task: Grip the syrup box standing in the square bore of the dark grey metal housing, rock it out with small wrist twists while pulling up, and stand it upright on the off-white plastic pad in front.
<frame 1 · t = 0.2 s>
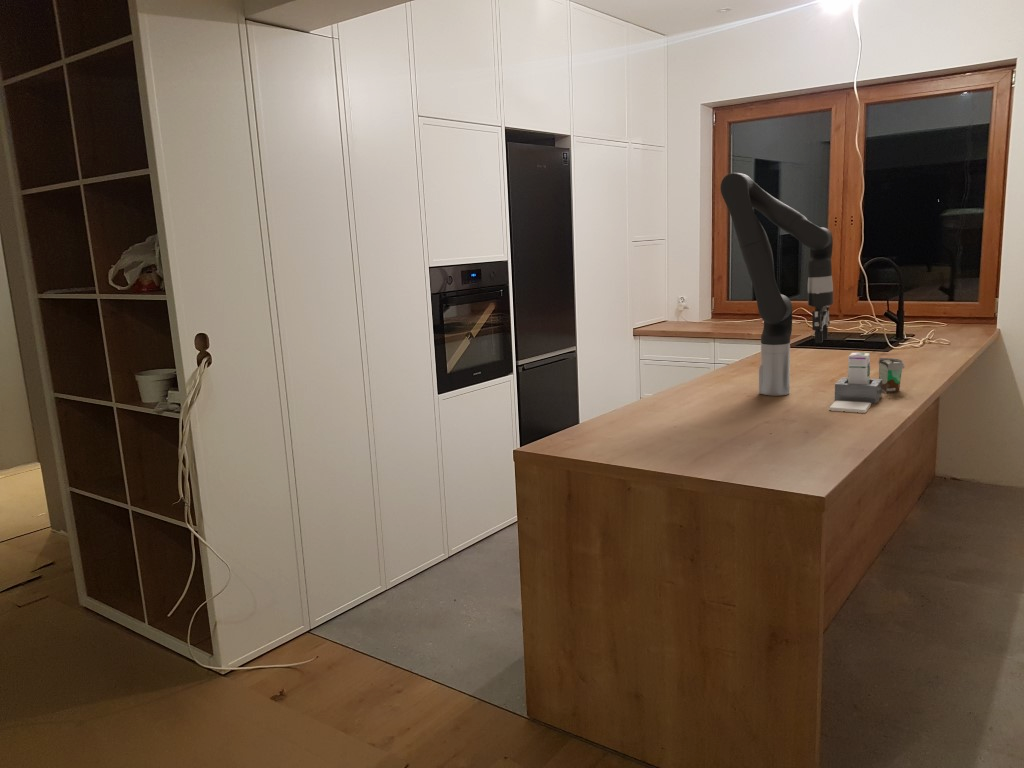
hand: (821, 340, 247), 18 cm above the countertop, tool pointing down, fingers open, 8 cm apart
pad: (850, 408, 232), on the countertop
syrup box: (858, 399, 244), resting in housing
food container: (892, 390, 253), on the countertop
housing: (858, 398, 244), on the countertop
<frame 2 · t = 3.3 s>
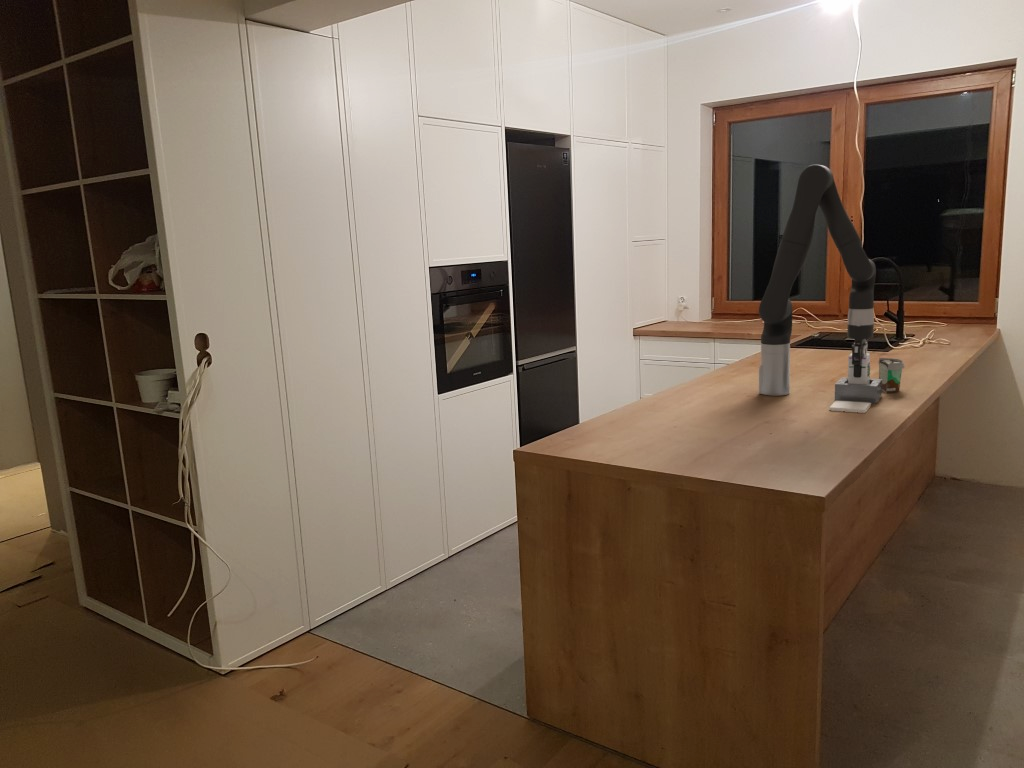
hand: (859, 375, 242), 8 cm above the countertop, tool pointing down, fingers closed on syrup box, 5 cm apart
syrup box: (858, 399, 244), resting in housing, touching gripper
everything else where it was.
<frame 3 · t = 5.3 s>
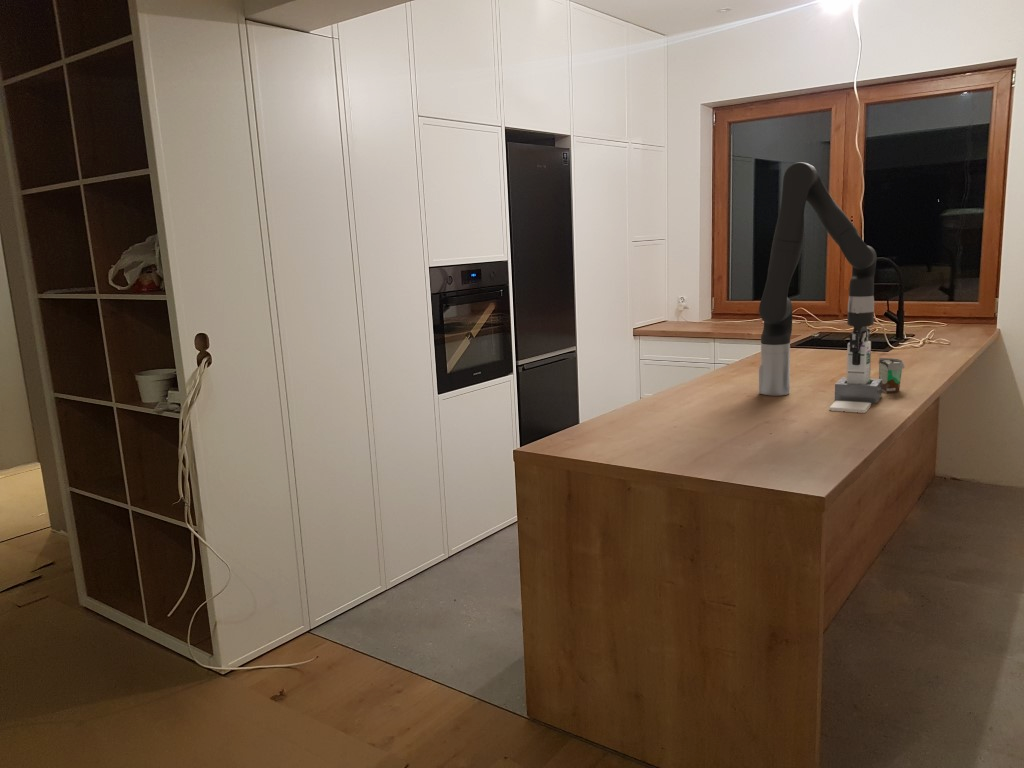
hand: (858, 363, 242), 11 cm above the countertop, tool pointing down, fingers closed on syrup box, 5 cm apart
syrup box: (858, 387, 243), point 4 cm above the countertop, touching gripper
everything else where it was.
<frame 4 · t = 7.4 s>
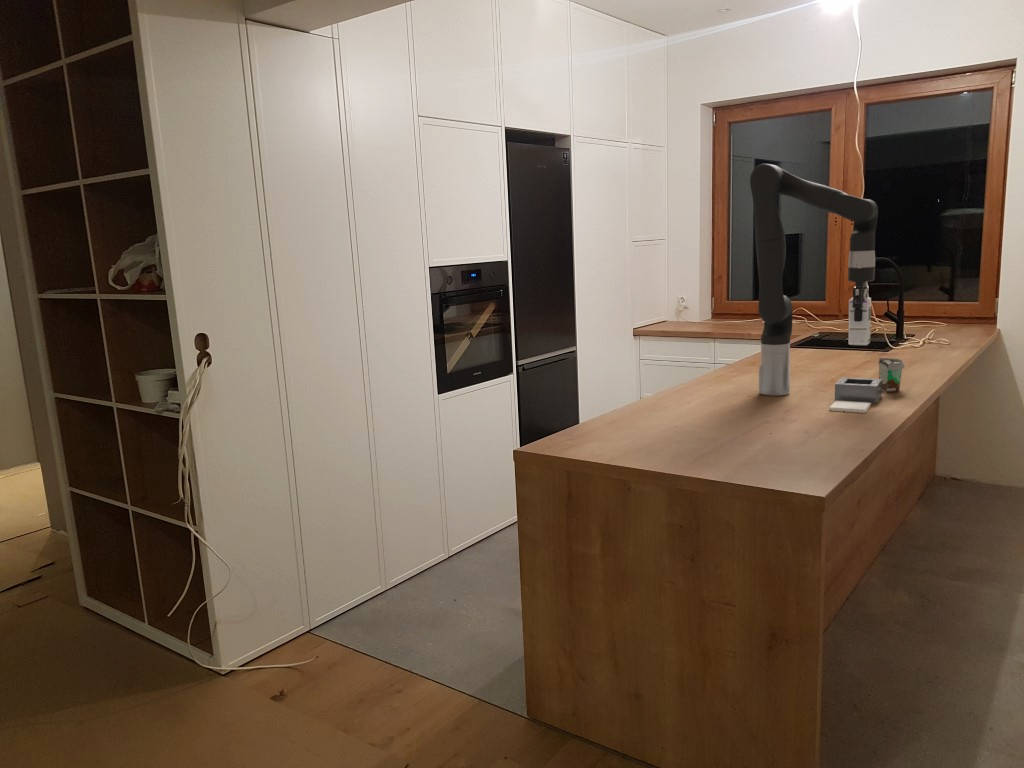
hand: (859, 319, 238), 25 cm above the countertop, tool pointing down, fingers closed on syrup box, 5 cm apart
syrup box: (858, 344, 239), point 18 cm above the countertop, touching gripper
everything else where it was.
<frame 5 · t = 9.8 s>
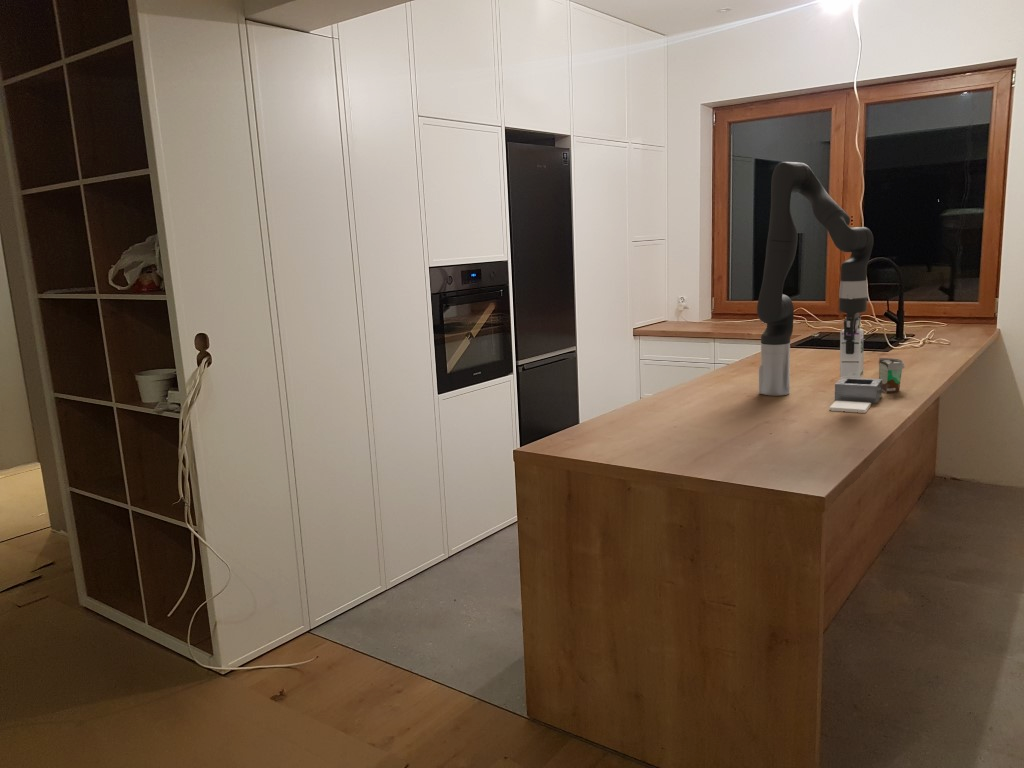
hand: (851, 352, 229), 17 cm above the countertop, tool pointing down, fingers closed on syrup box, 5 cm apart
syrup box: (851, 377, 230), point 10 cm above the countertop, touching gripper
everything else where it was.
when the fingers open (10 cm above the countertop, at t = 11.7 s): syrup box drops 1 cm, resting on pad.
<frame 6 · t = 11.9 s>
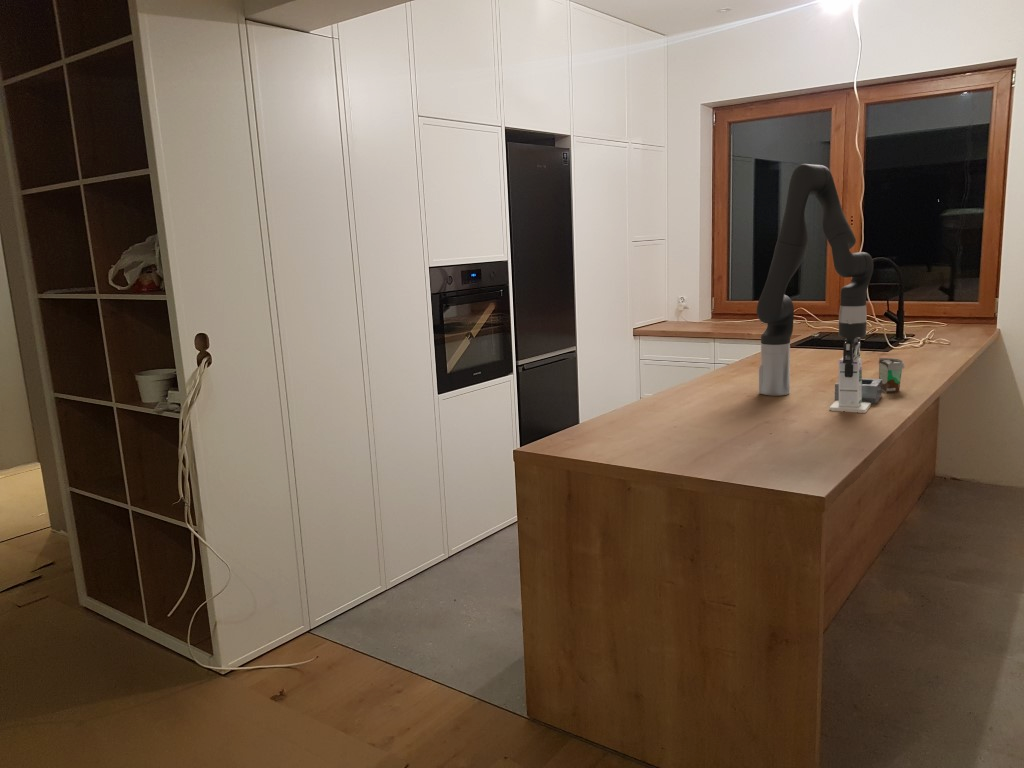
hand: (851, 374, 230), 10 cm above the countertop, tool pointing down, fingers open, 7 cm apart
syrup box: (849, 405, 232), point 1 cm above the countertop, touching pad
everything else where it was.
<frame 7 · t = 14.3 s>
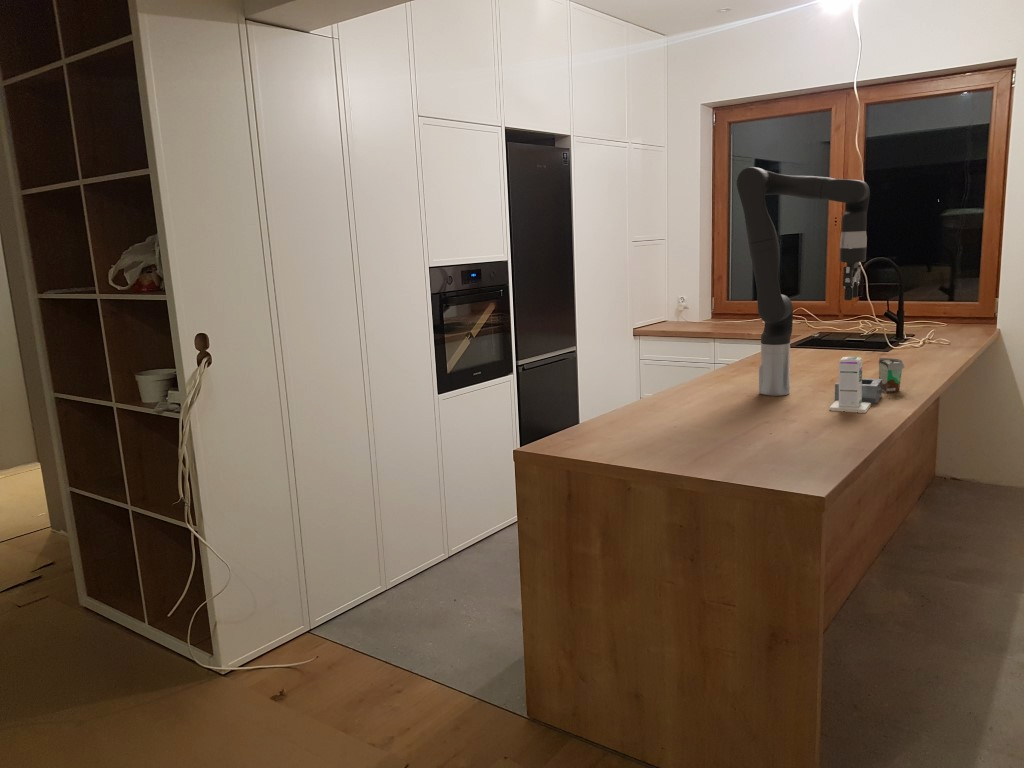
hand: (851, 298, 239), 32 cm above the countertop, tool pointing down, fingers open, 8 cm apart
nothing on the countertop moved.
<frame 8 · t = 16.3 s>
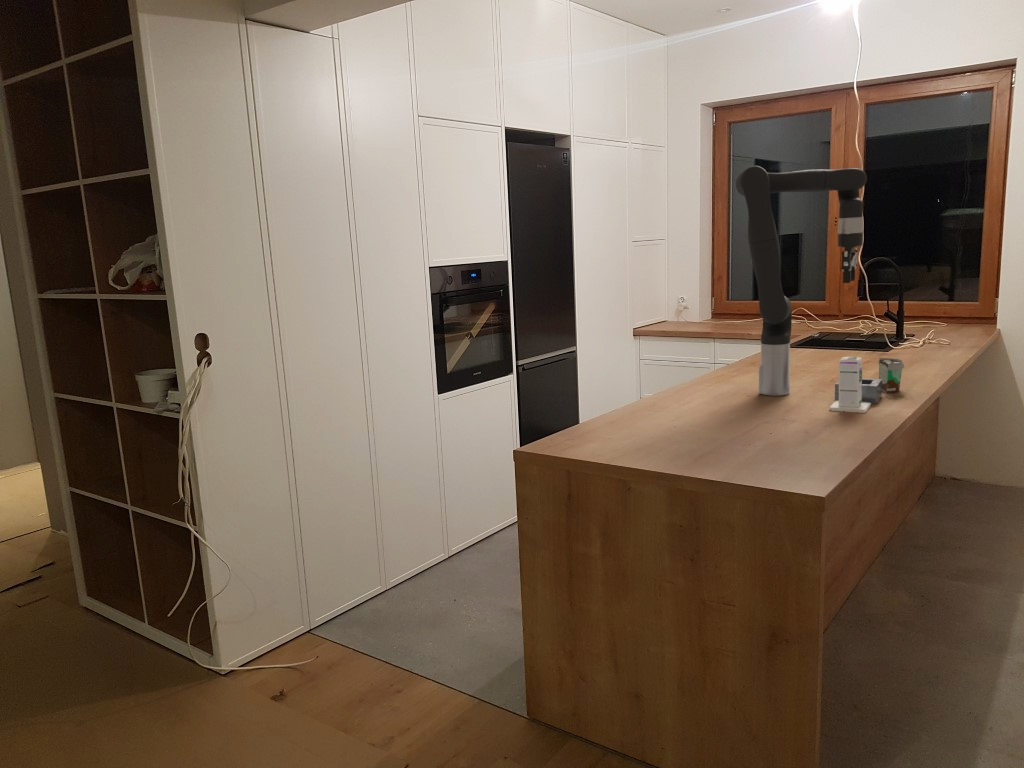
hand: (849, 281, 252), 36 cm above the countertop, tool pointing down, fingers open, 8 cm apart
nothing on the countertop moved.
at the end: syrup box inside the target area (0.1 cm from its centre), point 0.8 cm above the countertop; syrup box tilted 0°; the gripper is holding nothing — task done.
